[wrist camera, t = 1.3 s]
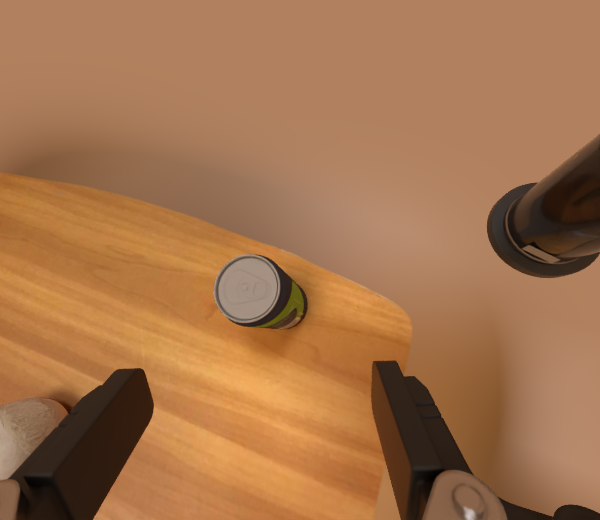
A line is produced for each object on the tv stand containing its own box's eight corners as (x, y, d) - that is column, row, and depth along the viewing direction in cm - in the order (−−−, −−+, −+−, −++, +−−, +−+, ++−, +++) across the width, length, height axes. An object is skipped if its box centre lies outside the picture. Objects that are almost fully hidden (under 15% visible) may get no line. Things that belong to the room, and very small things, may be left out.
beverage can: (311, 284, 38) (288, 254, 24) (304, 332, 37) (276, 331, 22) (266, 279, 39) (218, 248, 25) (258, 325, 38) (203, 320, 23)
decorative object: (92, 393, 39) (10, 413, 30) (77, 467, 37) (-17, 513, 28) (38, 388, 41) (-57, 405, 31) (21, 459, 39) (-87, 500, 29)
